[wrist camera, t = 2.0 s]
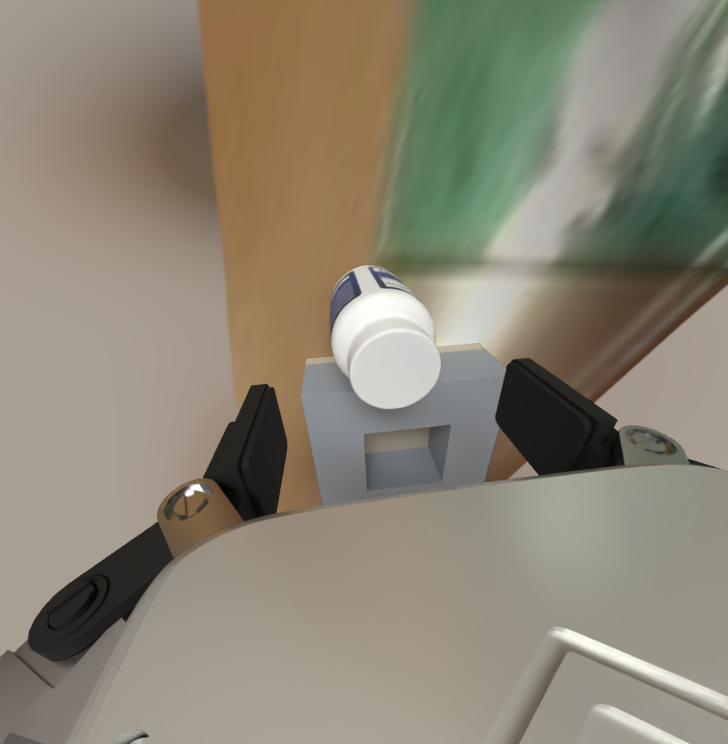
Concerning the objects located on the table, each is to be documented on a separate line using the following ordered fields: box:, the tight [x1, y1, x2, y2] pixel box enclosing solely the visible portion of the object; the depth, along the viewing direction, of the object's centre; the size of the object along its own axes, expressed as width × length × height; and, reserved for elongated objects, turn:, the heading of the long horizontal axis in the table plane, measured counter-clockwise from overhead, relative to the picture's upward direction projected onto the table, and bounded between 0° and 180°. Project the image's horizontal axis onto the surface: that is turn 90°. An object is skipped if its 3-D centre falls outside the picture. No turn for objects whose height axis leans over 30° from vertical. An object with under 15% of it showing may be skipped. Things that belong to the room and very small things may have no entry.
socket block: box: [301, 343, 506, 505], centre depth 24 cm, size 14×14×5 cm
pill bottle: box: [330, 265, 441, 409], centre depth 16 cm, size 5×5×10 cm
